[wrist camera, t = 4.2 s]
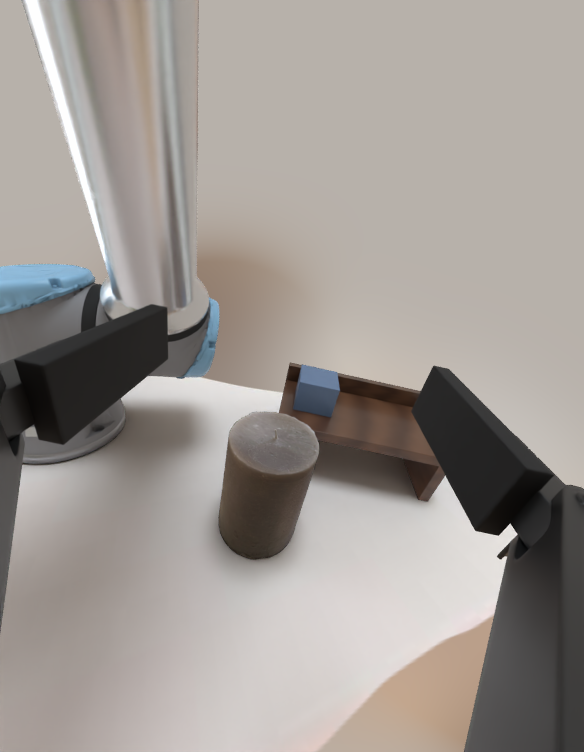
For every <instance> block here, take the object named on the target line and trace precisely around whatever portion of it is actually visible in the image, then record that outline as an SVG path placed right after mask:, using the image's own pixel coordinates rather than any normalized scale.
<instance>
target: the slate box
mask: <svg viewBox="0 0 584 752" xmlns="http://www.w3.org/2000/svg"><path fill="white" fill-rule="evenodd" d="M339 392H340V388H339V381H338V374H337V372H334V371H329V370H324V369H319V368H316V367H311V366H306V365H302V366H301V370H300V374H299V379H298V383H297V387H296V392H295V399H294V406H293V409H294V410H299V411H303V412H308V413H312V414H317V415H322V416H326V417H331V416H332V413H333V410H334V407H335V404H336V401H337V398H338V395H339Z"/></svg>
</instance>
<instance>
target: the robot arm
mask: <svg viewBox="0 0 584 752" xmlns="http://www.w3.org/2000/svg"><path fill="white" fill-rule="evenodd" d="M22 3H23V7H24V10H25V13H26V16H27V19H28V22H29V25H30V29H31V32H32V35H33V38H34V41H35V45H36V48H37V51H38V54H39V57H40V60H41V63H42V67H43V70H44V73H45V76H46V79H47V82H48V85H49V89H50V92H51V94H52V98H53V101H54V104H55V107H56V111H57V114H58V117H59V120H60V123H61V126H62V130H63V132H64V136H65V138H66V142H67V145H68V148H69V151H70V155H71V158H72V161H73V164H74V167H75V170H76V174H77V177H78V180H79V183H80V186H81V189H82V193H83V196H84V199H85V202H86V205H87V208H88V211H89V215H90V218H91V221H92V224H93V227H94V230H95V233H96V237H97V240H98V243H99V246H100V249H101V252H102V255H103V259H104V262H105V265H106V268H107V271H108V274H109V276H108V277H107V278H106V279H105V281H104V282H103V284H102V285H100V284H95V283H94V282H95V277H94V276H93V275H92V273H91V271H90V270H88V269H86V268H81V267H79V266H73V265H60V264H58V265H57V264H28V265H14V266H13V265H12V266H2V267H0V631H1V623H2V616H3V608H4V600H5V593H6V585H7V577H8V570H9V562H10V554H11V547H12V539H13V531H14V524H15V516H16V508H17V500H18V493H19V485H20V477H21V470H22V463H30V464H44V463H54V462H60V461H65V460H70V459H73V458H77V457H80V456H83V455H85V454H88V453H90V452H92V451H95V450H97V449H99V448H100V447H102V446H104V445H105V444H107V443H108V442H110V441H111V440H112V439H114V438H115V437H116V436H117V435H118V434H119V433H120V431H121V430H122V428H123V426H124V424H125V420H126V416H125V408H124V405H123V403H122V401H121V399H120V398H121V397H123V396H124V395H125V394H126V393H127V392H129V391H130V390H131V389H132V388H134V387H135V386H136V385H137V384H138V383H140V382H141V381H142V380H143V379H145V378H146V377H147V376H163V377H176V378H180V379H182V378H185V377H201V376H204V375H205V374H206V373H207V372H208V371H209V369H210V367H211V364H212V361H213V358H214V353H215V344H216V340H217V336H218V328H219V305H218V303H217V302H216V301H215V300H213V299H211V298H209V297H208V293H207V290H206V288H205V286H204V285H203V283H202V282H201V281H200V280H199V279H198V278H197V275H196V274H197V267H196V266H197V265H196V264H197V151H198V149H197V148H198V143H197V142H198V19H199V18H198V17H199V0H22ZM411 412H412V414H413V416H414V418H415V420H416V422H417V423H418V425H419V427H420V429H421V431H422V433H423V435H424V436H425V438H426V440H427V442H428V444H429V446H430V448H431V449H432V451H433V453H434V455H435V457H436V459H437V461H438V462H439V464H440V466H441V468H442V470H443V472H444V474H445V475H446V477H447V479H448V481H449V483H450V485H451V487H452V488H453V490H454V492H455V494H456V496H457V498H458V500H459V501H460V503H461V505H462V507H463V509H464V511H465V513H466V514H467V516H468V518H469V520H470V522H471V524H472V526H473V527H474V529H475V531H479V532H483V533H488V534H493V535H498V536H499V535H500V534H501V533H502V532H503V530H504V529H505V528H506V527H507V526H508V525H509V524H511V525H512V526H513V528H514V529H515V531H516V532H517V534H518V535H517V536H516V537H515V538H514V539H513V540H512V541H511V542H510V543H509V544H508V545H507V546H506V547H505V548H504V549H503V550H502V551H501V552H500V553H499V554H498V556H497V557H498V558H499V559H502V558H503V557H504V556H507V560H506V565H505V569H504V574H503V578H502V583H501V587H500V592H499V596H498V601H497V605H496V610H495V614H494V619H493V623H492V628H491V632H490V637H489V641H488V646H487V650H486V655H485V659H484V664H483V668H482V672H481V677H480V682H479V686H478V690H477V695H476V700H475V704H474V709H473V713H472V717H471V722H470V726H469V731H468V736H467V740H466V744H465V749H464V752H584V489H583V488H581V487H577V486H573V485H565V484H564V483H563V482H562V481H561V480H560V479H559V478H558V477H557V476H556V475H555V474H554V473H553V472H552V471H551V470H550V469H549V468H548V467H547V466H546V465H545V464H544V463H543V462H542V461H541V460H540V459H539V458H537V457H536V455H535V454H534V453H533V452H532V451H531V450H530V449H528V447H527V446H526V445H525V444H524V443H523V442H522V441H521V440H520V439H519V438H518V437H517V436H515V435H514V434H513V433H512V432H511V431H510V430H509V429H508V428H507V427H506V426H505V425H504V424H503V423H502V422H501V421H500V420H499V419H498V418H497V417H496V416H495V415H494V414H493V413H492V412H491V411H490V410H489V409H488V408H487V407H486V406H485V405H484V404H483V403H482V402H481V401H480V400H479V399H478V398H477V397H476V396H475V395H474V394H473V393H472V392H471V391H470V390H469V389H468V388H467V387H466V386H465V385H464V384H463V383H462V382H461V381H460V380H459V379H458V378H457V377H456V376H455V375H454V374H453V373H452V372H451V371H450V370H449V369H447V368H442V367H437V366H433V368H432V370H431V372H430V374H429V376H428V378H427V380H426V382H425V384H424V386H423V388H422V390H421V392H420V394H419V396H418V398H417V400H416V402H415V404H414V406H413V408H412V410H411Z"/></svg>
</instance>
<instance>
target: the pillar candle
mask: <svg viewBox="0 0 584 752" xmlns="http://www.w3.org/2000/svg"><path fill="white" fill-rule="evenodd" d="M318 455H319V443H318V440H317V437H316V435H315V432H314V431H313V430H311V428H310V427H309V426H308V425H307V424H304V422H301V421H299V420H297V419H296V418H294V417H291V416H289V415H287V414H282V413H276V412H252V413H250V414H249V415H247V416H245V417H243V418H241V419H239V420H238V421H237V422H236V423H235V424H234V425H233V427H232V428H231V430H230V433H229V438H228V447H227V455H226V462H225V471H224V479H223V489H222V496H221V503H220V510H219V528H220V533H221V536H222V538H223V540H224V541H225V543H226V544H227V546H229V548H230V549H231V550H233V551H234V552H236V553H237V554H239V555H241V556H244V557H246V558H250V559H261V558H268V557H271V556H273V555H275V554H277V553H279V552H280V551H281V550H283V549H284V548H285V546H286V545H287V544H288V543H289V541H290V539H291V537H292V535H293V532H294V529H295V526H296V523H297V520H298V517H299V514H300V511H301V508H302V505H303V502H304V498H305V495H306V492H307V489H308V486H309V483H310V480H311V477H312V474H313V471H314V468H315V465H316V461H317V458H318Z"/></svg>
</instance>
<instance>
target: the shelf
mask: <svg viewBox="0 0 584 752" xmlns="http://www.w3.org/2000/svg"><path fill="white" fill-rule="evenodd" d="M301 366H302V365H299V364H294V363H290V364H289V369H288V373H287V378H286V383H285V387H284V392H283V396H282V401H281V405H280V410H279V413H282V414H287V415H289V416H291V417H294V418H296V419H297V420H299V421H301V422H304V424H307V425H308V426H309V427H310V428H311V430H313V431H314V432H315V435H316V437H317V440H319V441H324V442H328V443H333V444H338V445H342V446H347V447H352V448H356V449H361V450H366V451H370V452H375V453H380V454H384V455H389V456H394V457H398V458H403V461H404V463H405V466H406V468H407V471H408V474H409V476H410V479H411V482H412V484H413V487H414V489H415V492H416V495H417V497H418V499H419V500H423V501H428V500H429V499H430V497H431V496H432V494H433V493H434V491H435V490H436V488H437V487H438V485H439V484H440V482H441V481H442V479H443V478H444V476H445V474H444V472H443V470H442V468H441V466H440V464H439V462H438V461H437V459H436V457H435V455H434V453H433V451H432V449H431V448H430V446H429V444H428V442H427V440H426V438H425V436H424V435H423V433H422V431H421V429H420V427H419V425H418V423H417V422H416V420H415V418H414V416H413V414H412V412H411V410H412V408H413V406H414V404H415V402H416V400H417V398H418V396H419V394H420V392H421V391H417V390H413V389H408V388H404V387H399V386H394V385H390V384H385V383H381V382H376V381H372V380H367V379H363V378H358V377H354V376H349V375H344V374H340V373H337V374H338V381H339V388H340V392H339V395H338V398H337V401H336V404H335V407H334V410H333V413H332V416H331V417H326V416H322V415H317V414H312V413H308V412H303V411H299V410H294V409H293V406H294V399H295V392H296V387H297V383H298V379H299V374H300V370H301Z"/></svg>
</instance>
